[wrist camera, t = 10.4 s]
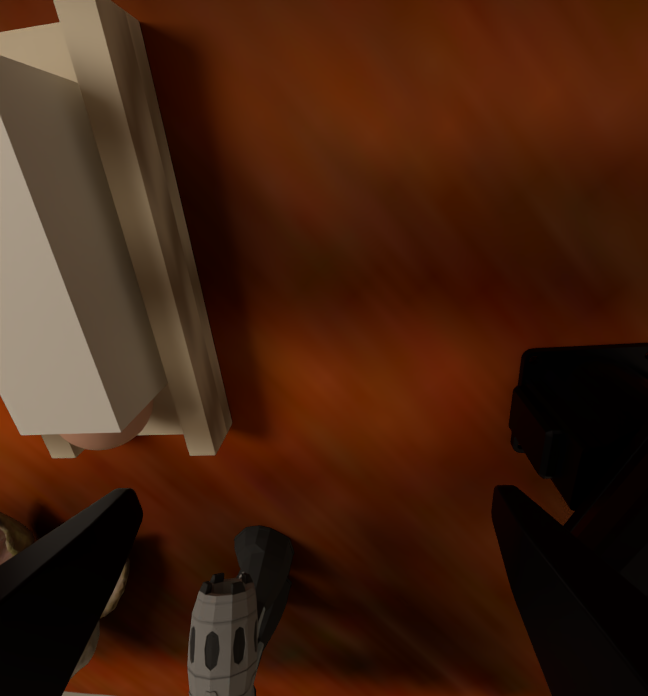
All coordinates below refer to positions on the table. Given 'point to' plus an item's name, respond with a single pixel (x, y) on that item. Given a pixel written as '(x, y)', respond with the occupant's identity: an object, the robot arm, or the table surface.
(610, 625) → the robot arm
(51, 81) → the white bar with tab
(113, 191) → the cradle
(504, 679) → the table surface
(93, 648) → the ceramic sculpture
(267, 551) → the robot
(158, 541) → the table surface
